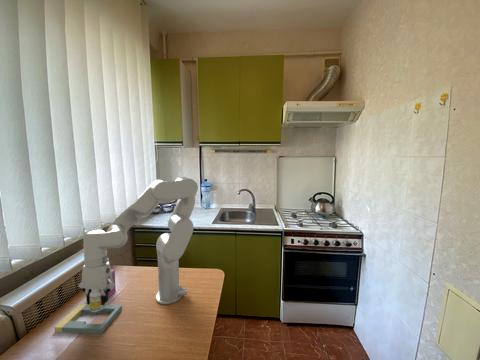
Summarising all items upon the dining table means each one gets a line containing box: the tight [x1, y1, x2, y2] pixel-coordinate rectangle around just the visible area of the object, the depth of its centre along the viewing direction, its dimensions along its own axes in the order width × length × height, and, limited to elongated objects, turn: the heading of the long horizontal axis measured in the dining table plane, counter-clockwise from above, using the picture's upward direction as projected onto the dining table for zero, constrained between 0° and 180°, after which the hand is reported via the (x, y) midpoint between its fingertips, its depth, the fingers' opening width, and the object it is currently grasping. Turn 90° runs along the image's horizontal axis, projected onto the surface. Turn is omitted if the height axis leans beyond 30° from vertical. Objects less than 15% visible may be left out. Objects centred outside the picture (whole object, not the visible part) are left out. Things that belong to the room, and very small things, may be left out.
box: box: [105, 269, 117, 299], centre depth 104 cm, size 10×6×12 cm, turn 84°
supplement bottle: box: [90, 289, 106, 312], centre depth 86 cm, size 5×5×10 cm
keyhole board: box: [53, 303, 123, 335], centre depth 88 cm, size 19×13×2 cm
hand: (97, 302), depth 86 cm, fingers closed on supplement bottle, 5 cm apart
